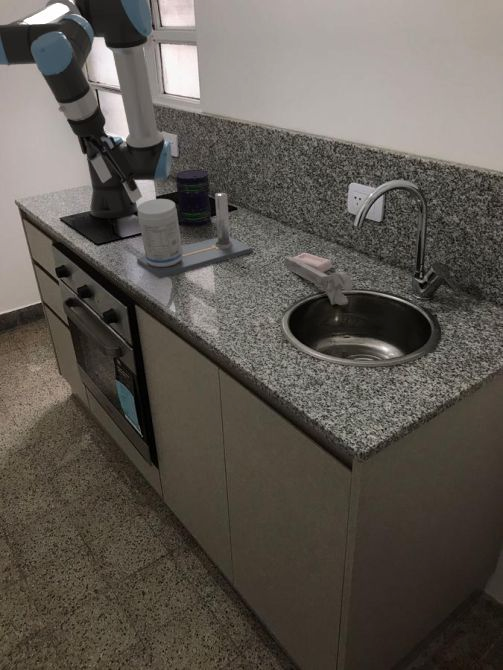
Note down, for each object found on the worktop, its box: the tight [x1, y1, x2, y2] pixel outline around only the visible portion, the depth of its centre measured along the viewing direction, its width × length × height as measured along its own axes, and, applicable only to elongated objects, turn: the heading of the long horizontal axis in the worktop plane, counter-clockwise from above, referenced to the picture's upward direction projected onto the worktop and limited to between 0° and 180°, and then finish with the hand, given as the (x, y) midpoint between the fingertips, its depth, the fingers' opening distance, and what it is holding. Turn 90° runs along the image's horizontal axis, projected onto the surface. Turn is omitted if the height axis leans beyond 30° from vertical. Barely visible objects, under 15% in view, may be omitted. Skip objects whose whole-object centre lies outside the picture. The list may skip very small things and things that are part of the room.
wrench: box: [283, 256, 353, 306], centre depth 128 cm, size 8×2×30 cm
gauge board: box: [136, 235, 253, 279], centre depth 148 cm, size 13×28×1 cm, turn 125°
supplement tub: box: [137, 198, 183, 267], centre depth 139 cm, size 10×10×15 cm
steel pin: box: [214, 192, 232, 248], centre depth 149 cm, size 5×5×14 cm
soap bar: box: [293, 252, 332, 273], centre depth 140 cm, size 5×9×2 cm, turn 47°
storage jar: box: [175, 169, 212, 228], centre depth 170 cm, size 10×10×15 cm
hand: (121, 189), depth 136 cm, fingers open, 13 cm apart
